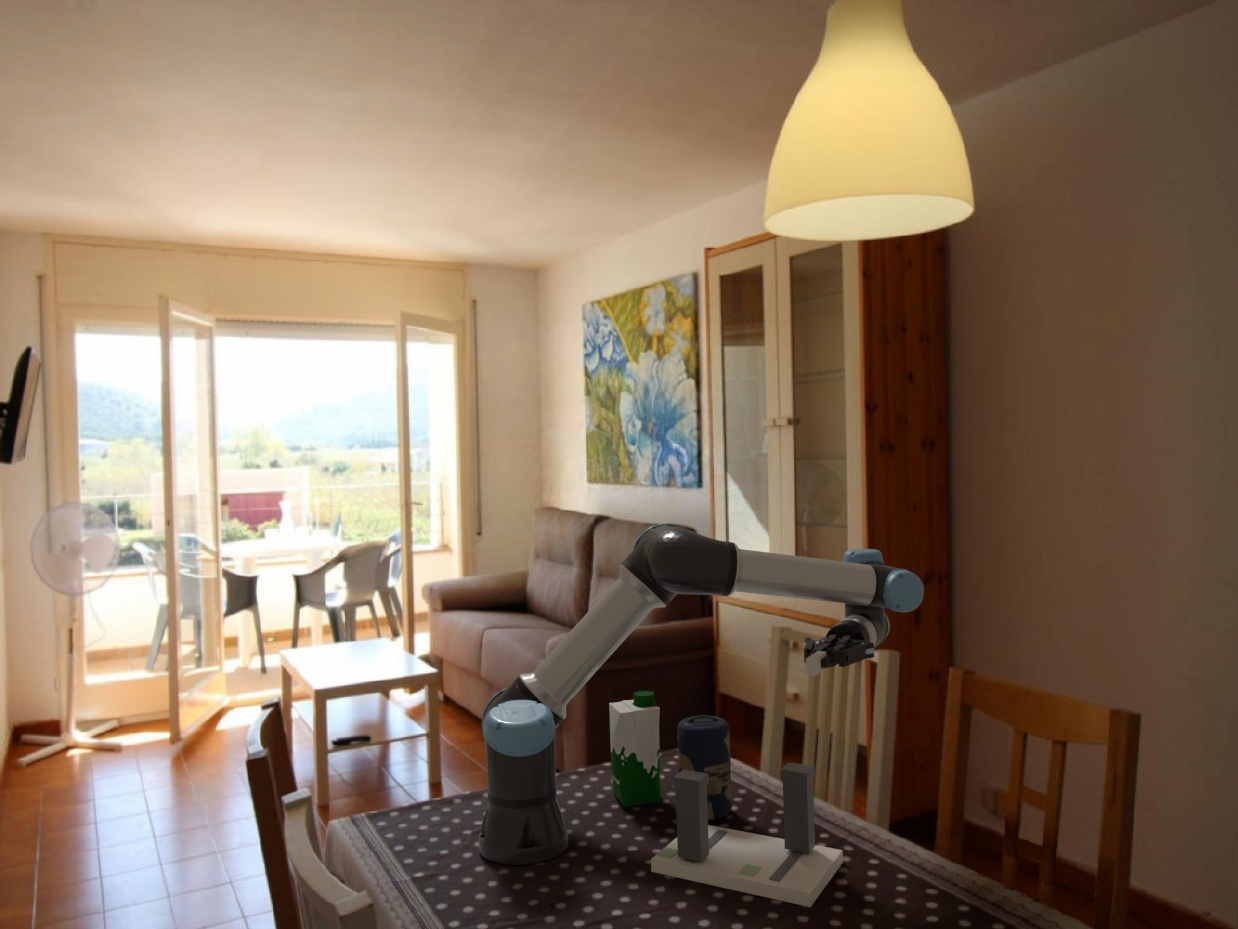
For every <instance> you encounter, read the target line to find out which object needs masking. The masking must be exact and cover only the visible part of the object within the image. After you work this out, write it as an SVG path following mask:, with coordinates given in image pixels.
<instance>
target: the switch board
mask: <svg viewBox="0 0 1238 929" xmlns="http://www.w3.org/2000/svg"><path fill="white" fill-rule="evenodd" d="M708 838H709V855H708V856H707V857H706V858H705V859H704V860H702V861H701V862H699V861H694V860H689V859H685V858H680V857H678V846H677V837H676V838H675V839H673V840H671V841H670V843H668V844H667V845H666V846H665V847H664V848H662V849H661V850H660V851H659V852H657V853H656V854H655V855H654V856H653V857H651V859H650V865H651V866H650V867H651V871H650V872H651V873H655V874H660V875H664V876H670V877H674V878H679V879H683V880H687V881H692V882H696V883H701V884H705V885H710V886H715V887H718V888H723V889H727V890H731V891H732V890H733V891H737V892H741V893H746V894H750V895H755V896H760V897H764V898H769V899H771V900H772V899H773V900H777V901H781V902H786V903H789V904H790V903H791V904H793V905H794V904H795V905H799V906H804V907H808V908H811V907H812V906H813V905H814V903H815V901H816V900H817V899H818V898H819V896H820V895H821V893H822V892H823V890H824V889H825V888H826V887H827V885H828V884H829V882H830V881H831V880H832V879H833V877H834V875H835V874H836V873H837V871H839V869H840V867H841V866H842V865H843V863H844V858H843V857H844V856H843V854H844V852H843V851H844V850H842V849H837V848H833V847H827V846H823V845H816V844H815V847H814V848H813V849H812V851H811V852H810V853H804V852H798V851H793V850H788V849H785V842H784V838H780V837H776V836H775V837H773V836H769V835H764V834H759V833H758V834H757V833H754V832H747V831H742V830H738V829H732V828H726V827H722V826H716V825H710V824H708ZM841 864H842V865H841Z"/></svg>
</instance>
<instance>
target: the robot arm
mask: <svg viewBox="0 0 1238 929" xmlns="http://www.w3.org/2000/svg"><path fill="white" fill-rule="evenodd" d="M924 589H925V588H924V584H923V581H922V580H921V578H920V577H919V576H918V575H916V574H915V573H914V572H911V571H910V570H908V569H905V568H898V567H895V566H894V567H893V566H889V565H887V564H885V561H884V557H883V553H882V551H880V550H878V549H874V548H855V549H849V550H847V551H845V553H844V554H843V560H841V561H840V560H832V559H824V558H815V557H809V556H800V555H799V556H798V555H791V554H783V553H778V552H777V553H776V552H775V553H774V552H766V551H761V550H760V551H759V550H751V549H745V548H743V549H742V548H739V547H738V545H737V544H736V542H732V541H725V540H719V539H715V538H711V537H707V536H705V535H702V534H699V533H698V532H695V531H693V530H690V529H686V528H684V527H683V526H681V525H678V524H675V523H674V524H672V523H660V524H656V525H652V526H650V527H649V528H647V529H645V530H644V531H643V532H642V533H641V534H640V535H639V537H638V538H637V539H636V541H635V543H634V545H633V550H632V551H631V552H630V553H629V554H628V555H627V557H626V558H625V559H624V560H623V561H622V562H621V563H620V564H619V577H618V579H616V581H615V582H614V583H613V584H612V585H611V586H610V587H609V588H608V590H607V591H606V592H605V593H604V594H603V595H602V596H601V597H600V598H599V599H598V601H596V603H595V604H594V605H593V606H592V607H591V608H590V609H589V610H588V611H587V613H586V614H584V616H583V617H582V618H581V619H580V620H579V621H578V622H577V624H576V625H575V626H574V627H573V628H572V629H571V630H570V631H569V632H568V634H566V635H565V636H564V638H563V639H562V640H561V641H560V642H559V643H558V644H557V645H556V646H555V647H554V649H553V650H552V651H551V652H550V653H549V654H548V655H547V656H546V657H545V658H544V660H543V661H542V662H540V664H539V665H538V666H537V668H536V669H535V670H534V671H533V672H529V673H520V674H519V675H518V676H517V677H516V678H515V679H514V680H513V681H512V682H511V683H510V685H508V686H507V687H506V688H503V689H502V690H500V691H498V692H497V693H495V694H494V695H493V696H491V698H490V699H489V700H488V702H487V704H486V706H485V708H484V709H483V713H482V718H481V723H480V724H481V734H482V736H483V742H484V747H485V748H484V749H485V759H486V760H485V761H486V788H487V806H486V809H485V813H484V816H483V821H482V824H481V827H480V831H479V834H478V851H479V854H480V853H481V854H480V855H481V857H483V858H484V859H486V860H487V861H490V862H492V861H494V862H493V863H495V862H496V863H495V864H500V863H501V865H507V866H509V865H510V866H517V865H518V866H521V865H522V866H523V865H533V864H538V863H543V862H546V861H548V860H551V859H553V858H556V857H558V856H560V855H561V854H563V853H564V852H565V851H566V849H567V848H568V847H569V829H568V825H567V824H566V823H565V819H564V816H563V812H562V810H561V806H560V804H559V801H558V798H557V796H558V795H557V774H556V772H557V771H556V770H557V769H556V750H555V747H556V746H555V733H556V729H557V728H558V727H559V726H560V725H561V724H562V723H563V721H564V720H565V719H566V718H567V705H568V704H569V703H570V701H571V700H572V699H573V698H574V697H575V696H576V695H577V693H579V691H580V690H581V689H582V688H583V687H584V686H585V685H586V683H588V681H589V680H590V679H591V678H592V677H593V675H595V673H596V672H597V671H598V670H599V669H601V667H602V666H603V665H604V664H605V662H606V661H607V660H608V659H609V658H610V657H611V656H612V655H613V654H614V652H615V651H617V649H618V648H619V647H620V646H621V645H622V644H623V642H624V641H626V640H627V638H628V637H629V636H630V635H631V634H632V633H633V631H634V630H636V629H637V627H638V626H639V625H640V624H641V623H642V622H643V621H644V619H645V618H646V617H647V616H648V615H649V614H650V613H651V611H652V610H653V609H657V608H658V609H659V608H660V609H661V608H666V607H667V606H668V605H669V603H671V602H672V600H673V599H674V598H675V597H676V596H677V595H678V594H679V595H701V596H704V595H705V596H706V595H707V596H720V597H731V596H732V594H733V593H735V592H738V593H745V594H753V595H754V594H756V595H757V594H758V595H765V596H772V597H773V596H775V597H783V598H792V599H793V598H795V599H801V600H811V601H820V602H827V603H828V602H830V603H838V604H844V619H841V620H840V621H839V622H837V623H836V624H834V625H832V626H831V627H830V628H829V630H827V633H826V635H825V637H820V638H819V640H818V641H816V639H814V638H811V637H805V638H804V648H803V660H804V661H803V662H804V664H805V675H806V676H811V677H816V676H817V675H819V674H820V673H821V672H822V671H824V670H825V669H828V668H833V667H835V666H837V665H838V667H841V668H845V667H848V666H850V665H852V664H856V663H859V662H861V661H864V660H867V659H873V658H875V648H876V647H878V646H880V645H882V643H884V641H885V640H886V638H887V637H888V635H889V633H890V629H891V628H890V627H891V623H890V619H889V617H888V616H887V613H886V612H885V609H889V610H891V611H893V612H896V613H897V612H899V613H910V612H913V611H914V610H915V609H917V608H918V607H919V606H920V605H921V603H922V602H923V599H924V595H925V590H924Z"/></svg>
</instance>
